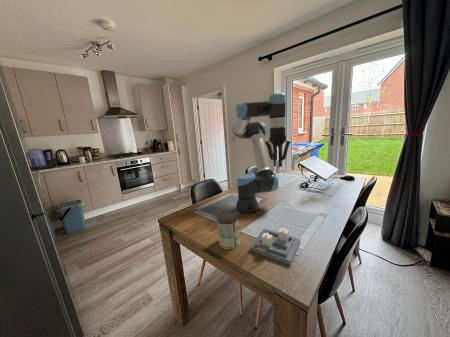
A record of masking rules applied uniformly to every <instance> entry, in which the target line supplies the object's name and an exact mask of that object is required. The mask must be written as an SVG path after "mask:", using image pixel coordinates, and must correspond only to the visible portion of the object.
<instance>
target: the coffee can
mask: <svg viewBox="0 0 450 337" xmlns="http://www.w3.org/2000/svg"><path fill="white" fill-rule="evenodd" d="M215 219H216V226H217V234H218V245H219V246H220V247H221V248H222V249H224V250H231V249H235V248H237V247H238V246H239V245H240V243H241V241H240V231H239V230H240V229H239V214H237V212H235V211H222V212H220V213H219V214H217V215H216V218H215Z"/></svg>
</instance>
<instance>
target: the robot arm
mask: <svg viewBox="0 0 450 337" xmlns="http://www.w3.org/2000/svg"><path fill="white" fill-rule="evenodd" d="M286 104H287V99H286V94H285V93H284V92H279V93H272V94H269V99H268V101H254V102H252V101H251V102H242V103H237V104H236V106H235V114H236V117H237V118H236V120H235V122H234V123H233V125H232V128H231V130H232V131H231V132H232V134H233V135H234V136H235V137H236V138H238V139H241V140H245V139H248V141H249V142H250V143H251V145H252V151H253V157H254V160H255V166H256V171H257V172H256V173H252V172H249V173H243V174H241V175H239V176H237V180H236V186H237V197H238V198H237V200H236V201H237V202H236V206H235V209H236V211H237V212H238V213H241V214H245V215H246V214H247V215H248V214H253V213H257V212H258V211H259V209H260V208H259V206H260V205H259V203H258V200H257V196H256V195H257V194H263V193H264V194H265V193H271V192H272V193H273V192H276V191H277V190H278V188H279V184H280V183H279V181H280V180H279V175H278V174H281V167H283V161H284V160H286V159H287V156H288V151H289V147H290V144H291V143H292V140H289V139H288V138H287V136H286V122H287V121H286V120H287V119H286ZM258 117H269V127H270V128H269V139H268V140H266V141H264V140H265V138H266V136H267V127H266V125H265V123H264V122H263V121H253V122H250V121H251V119H252V118H258ZM284 143H285V145H284ZM283 145H284V146H283ZM266 147H267V150H266ZM283 147H284V148H283ZM267 151H268V154H267ZM268 156H269V158H268ZM269 159H270V160H272V161H273V166H274V167H275V173H274V170H273V169H272V168H271V167H270V162H269Z"/></svg>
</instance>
